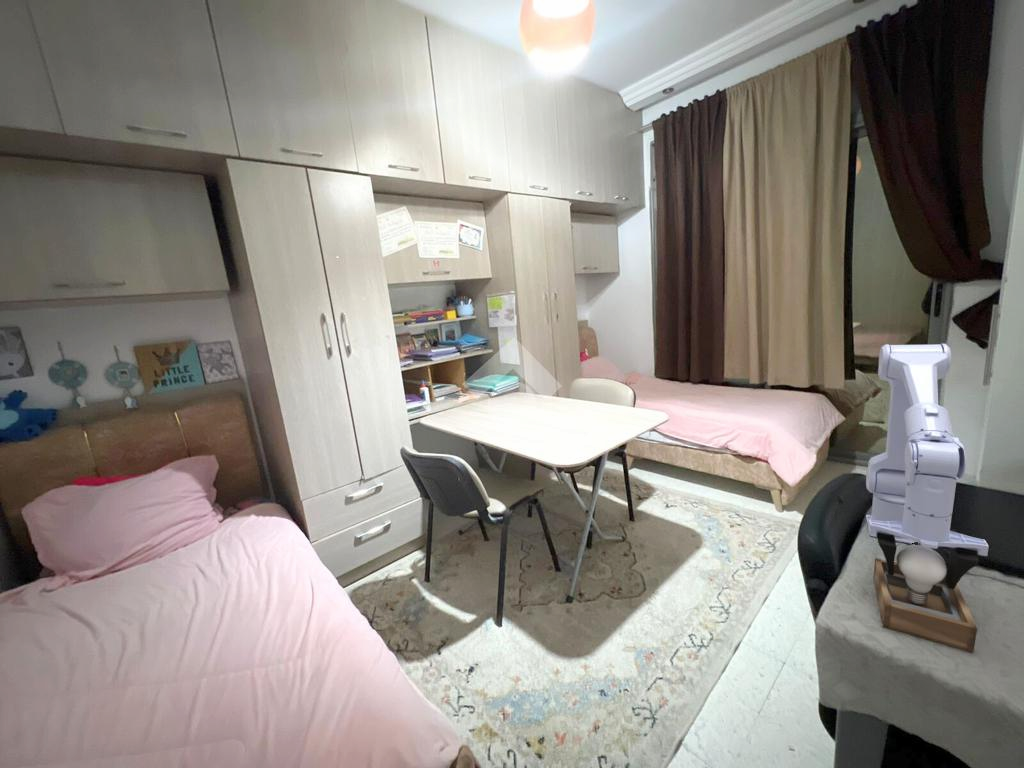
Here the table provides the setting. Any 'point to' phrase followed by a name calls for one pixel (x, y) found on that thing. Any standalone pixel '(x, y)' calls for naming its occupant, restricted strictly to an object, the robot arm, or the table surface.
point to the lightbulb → (920, 571)
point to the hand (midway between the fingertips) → (919, 578)
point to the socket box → (924, 610)
